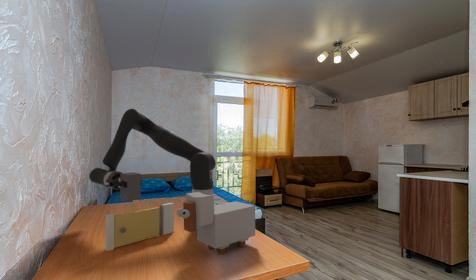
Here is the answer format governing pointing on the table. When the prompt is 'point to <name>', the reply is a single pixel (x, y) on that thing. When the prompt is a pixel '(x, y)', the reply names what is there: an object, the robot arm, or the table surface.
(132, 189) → the rubber block
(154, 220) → the door
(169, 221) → the wall frame
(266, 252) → the table surface
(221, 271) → the table surface
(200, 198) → the toy
